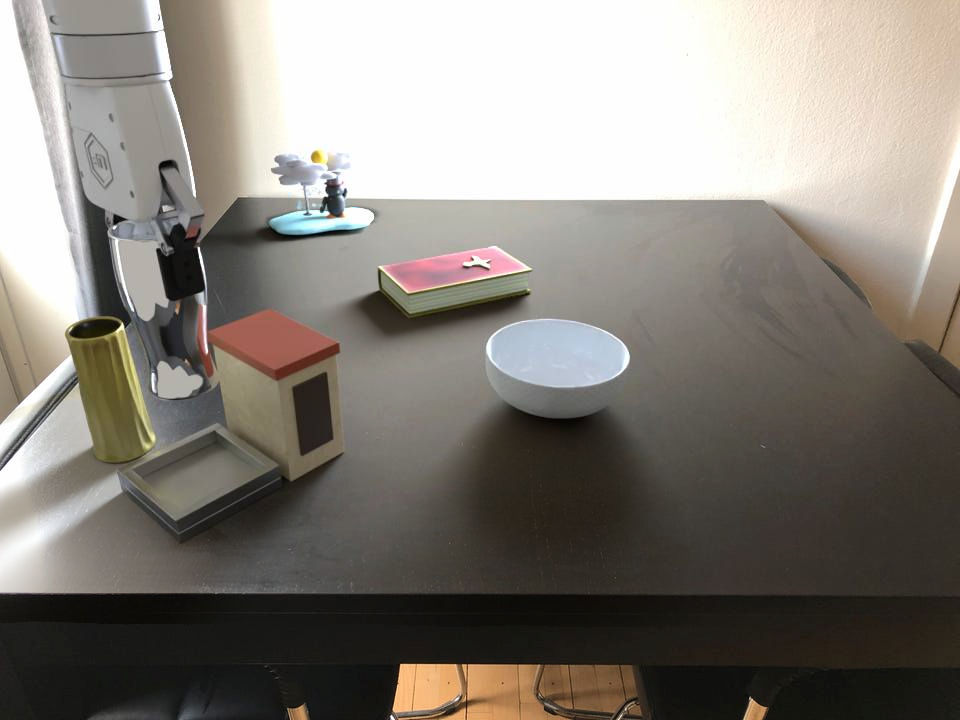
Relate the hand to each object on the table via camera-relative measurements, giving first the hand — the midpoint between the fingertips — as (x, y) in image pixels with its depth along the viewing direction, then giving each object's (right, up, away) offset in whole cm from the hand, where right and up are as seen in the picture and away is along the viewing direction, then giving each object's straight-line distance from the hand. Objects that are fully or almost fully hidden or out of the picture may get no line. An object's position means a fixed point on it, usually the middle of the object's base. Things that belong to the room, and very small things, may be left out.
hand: (162, 281), depth 63 cm
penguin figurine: (-3, +19, +80) cm, 82 cm away
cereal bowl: (+36, -12, +26) cm, 46 cm away
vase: (-11, -16, +17) cm, 26 cm away
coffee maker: (+2, -18, +13) cm, 23 cm away
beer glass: (0, -9, +5) cm, 10 cm away
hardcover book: (+23, +4, +55) cm, 59 cm away
